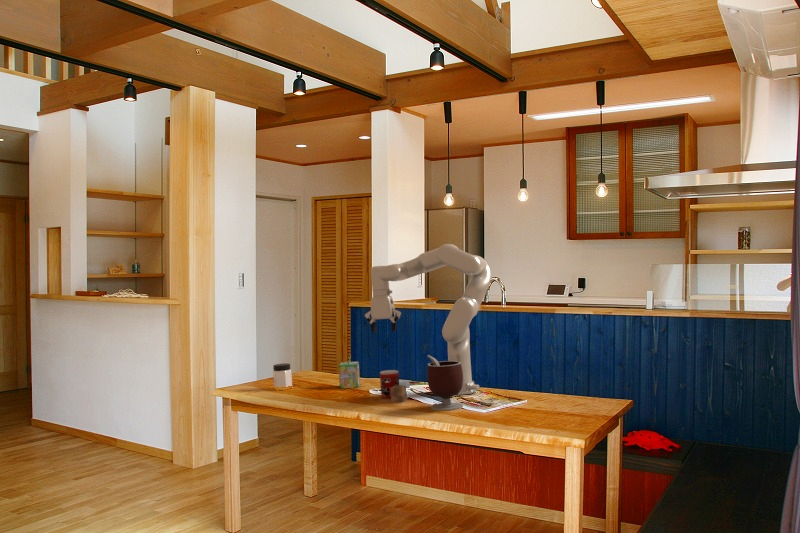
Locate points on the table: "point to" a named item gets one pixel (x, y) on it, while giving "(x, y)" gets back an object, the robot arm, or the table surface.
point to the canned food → (388, 382)
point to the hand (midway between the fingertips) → (384, 332)
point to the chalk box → (349, 374)
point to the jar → (282, 375)
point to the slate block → (404, 383)
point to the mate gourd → (445, 382)
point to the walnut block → (398, 393)
